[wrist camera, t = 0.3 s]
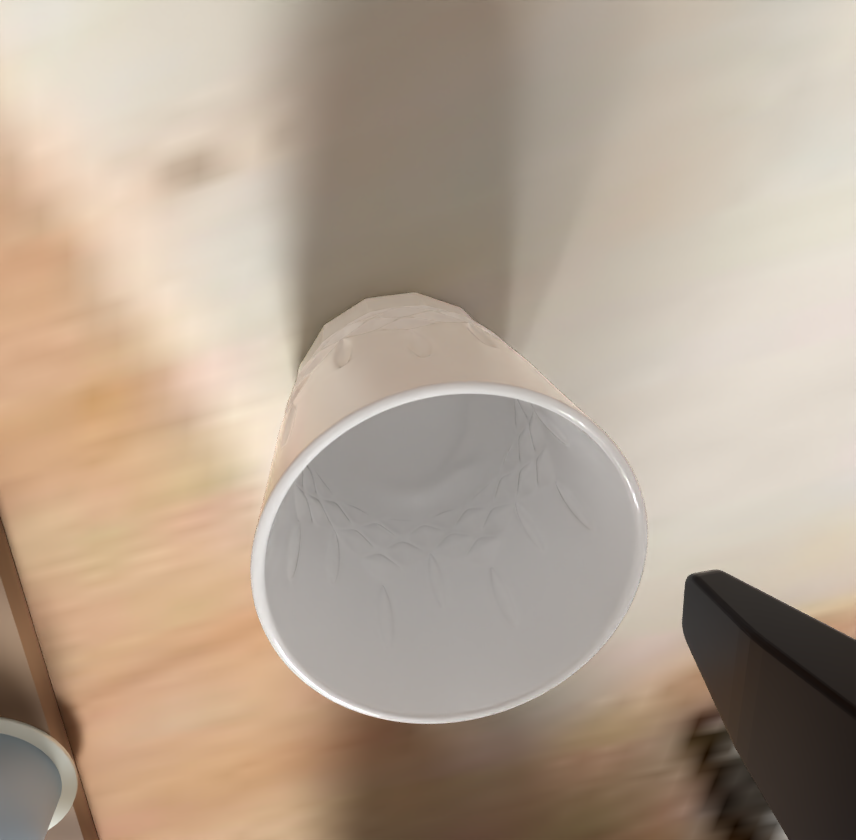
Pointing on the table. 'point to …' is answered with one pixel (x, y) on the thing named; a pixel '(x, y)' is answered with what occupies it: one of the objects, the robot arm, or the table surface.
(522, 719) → the table surface
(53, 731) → the board
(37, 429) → the table surface
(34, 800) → the short pin
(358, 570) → the white cup
